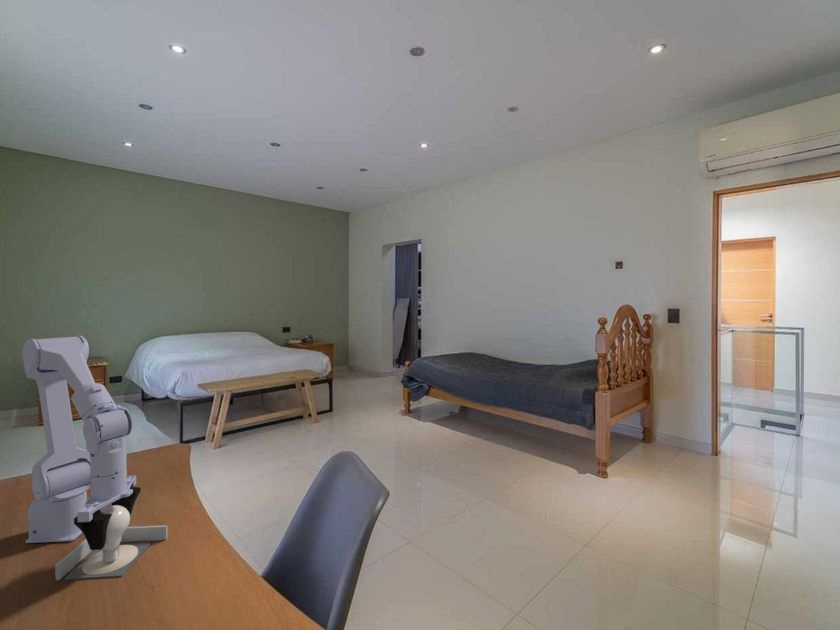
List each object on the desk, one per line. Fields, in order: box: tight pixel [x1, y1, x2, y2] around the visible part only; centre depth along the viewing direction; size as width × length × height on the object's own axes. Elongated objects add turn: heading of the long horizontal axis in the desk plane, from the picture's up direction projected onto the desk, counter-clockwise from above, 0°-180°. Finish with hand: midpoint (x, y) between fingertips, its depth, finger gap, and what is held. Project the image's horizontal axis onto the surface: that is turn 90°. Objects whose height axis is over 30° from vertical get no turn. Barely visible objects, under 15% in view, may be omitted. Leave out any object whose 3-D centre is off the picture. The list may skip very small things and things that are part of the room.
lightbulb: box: [101, 504, 131, 562], centre depth 80 cm, size 6×6×11 cm
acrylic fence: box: [54, 524, 169, 581], centre depth 81 cm, size 15×12×3 cm
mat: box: [64, 542, 152, 581], centre depth 80 cm, size 10×10×1 cm
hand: (110, 536), depth 80 cm, fingers open, 7 cm apart
